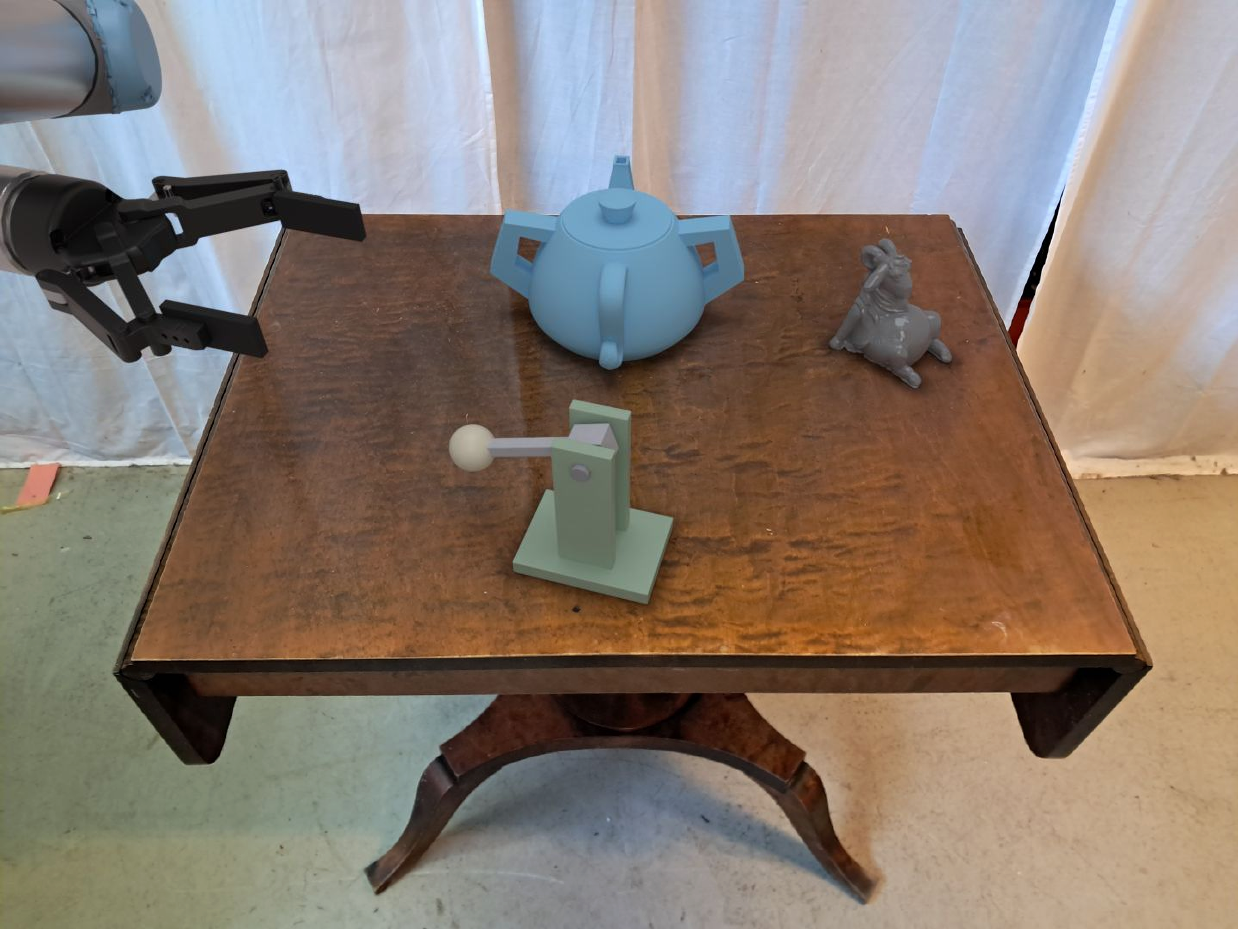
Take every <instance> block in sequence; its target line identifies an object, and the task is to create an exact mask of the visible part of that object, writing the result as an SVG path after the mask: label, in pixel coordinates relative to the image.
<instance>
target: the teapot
mask: <svg viewBox="0 0 1238 929" xmlns="http://www.w3.org/2000/svg"><path fill="white" fill-rule="evenodd" d="M630 157H631V156H630V155H618V154H616V155H615V154H614V156H613V162H612V170H611V174H610V179H609V183H608V188H603V189H598V190H593V191H590V192H587V193H584V194H582V195H580V196H578V197H576V198H574V199H573V200H571V202H569V203H568V204H567V205H565V207H564V208H563V209H562V210H561V212H560V213H559V214H558V216H554V215H548V214H541V213H536V212H529V211H521V210H516V209H510V208H506V209H505V211H504V215H503V218H502V222H501V225H500V229H499V231H498V235H497V239H496V242H495V246H494V249H493V254H492V256H491V261H490V270H489V273H490V274H491V275H492V276H493V277H495V278H496V279H498V280H499V281H500V282H502V283H504V284H505V285H507V286H508V287H510V288H511V289H512V290H514V291H515V292H517V293H518V294H519V295H521V296H523V297H524V298H526V299H527V300H528V307H529V311H530V312H531V316H532V317H533V319H534V320H535V323H536V324H537V326H538V327H539V328H540V329H541V330H542V332H544V333H545V334H546V335H547V336H548V337H549V338H550V339H552V340H553V341H554V342H556V343H557V344H559V345H560V346H561V347H563V348H565V349H567V350H568V351H570V352H572V353H573V354H574V353H575V354H576V355H579V356H582V357H585V358H588V359H592V360H596V361H597V360H598V364H599V366H600V367H601V368H603V369H606V370H608V371H609V370H610V371H611V370H615V369H618V368H619V367H620V366H621V365H622V363H623V362H631V361H638V360H643V359H646V358H649V357H653V356H655V355H657V354H658V355H659V353H663V352H664V351H666V350H667V349H670V348H671V347H673V346H674V345H676V344H677V343H678V342H680V341H681V340H683V339H684V338H685V337H686V336H688V334H690V333H691V332H692V331H693V330H694V328H695V327H696V326H697V325H698V323H699V321H700V319H701V318H702V315H703V314H704V310H705V307H706V305H707V304H708V303H710V302H711V301H713V300H715V299H716V298H718V297H720V296H721V295H723V294H724V293H726V292H727V291H729V290H730V289H732V288H734V287H735V286H737V285H738V284H740V283H742V282H743V281H745V263H744V261H743V259H744V258H743V257H742V256H743V255H742V252H741V249H740V245H739V241H738V238H737V235H736V231H735V227H734V224H733V221H732V217H731V215H730V214H725V215H716V216H714V215H713V216H706V217H695V218H684V219H679V217H677V215H676V214H675V213H674V212H673V210H672V209H671V208H670V207H669V206H668V204H666V203H665V202H664V201H663V200H661V199H660V198H658V197H656V196H654V195H653V194H650V193H647V192H644V191H641V190H635V184H634V178H633V172H632V167H631V166H632V165H631V158H630ZM520 238H525V239H528V240H532V241H538V242H540V244H539V245H538V248H537V250H536V253H535V255H534V258H533V261H532V262H530V261H529V260H527V259H526V258H525V257H523V256H522V255H520V254H518V250H519V245H520V244H519V243H520ZM709 243H713V244H714V245H713V246H714V252H715V256H716V260H714V261H713V262H711V263H710V264H708V265H707V266H705V267H703V264H702V261H701V258H700V256H699V252H698V249H697V248H696V246H698V245H703V244H709Z"/></svg>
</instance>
